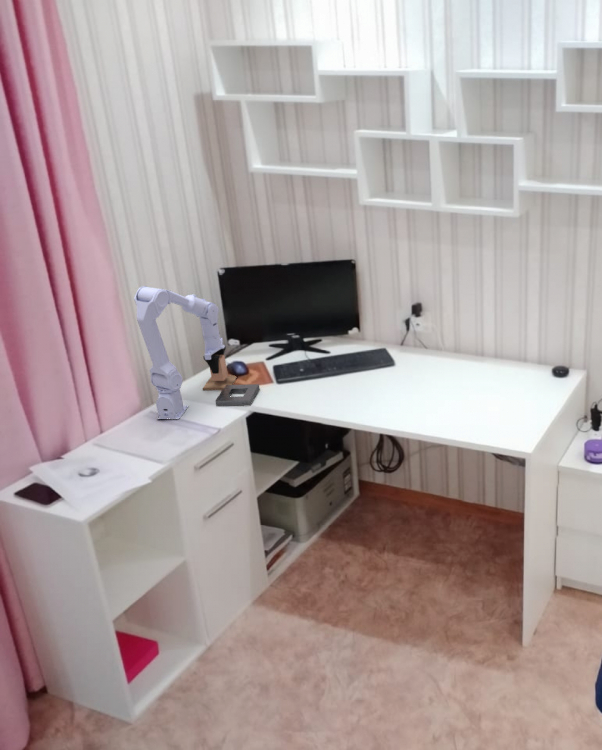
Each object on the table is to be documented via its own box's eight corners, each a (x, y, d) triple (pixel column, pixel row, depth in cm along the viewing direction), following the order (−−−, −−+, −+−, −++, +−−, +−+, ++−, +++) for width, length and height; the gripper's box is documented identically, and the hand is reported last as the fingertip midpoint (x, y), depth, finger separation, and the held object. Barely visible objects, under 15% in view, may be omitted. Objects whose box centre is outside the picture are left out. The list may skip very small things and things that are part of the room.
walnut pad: (229, 390, 305) (229, 387, 305) (202, 390, 308) (202, 388, 307) (237, 377, 314) (237, 375, 313) (211, 377, 316) (211, 375, 316)
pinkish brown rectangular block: (223, 380, 307) (220, 359, 304) (212, 380, 308) (208, 360, 305) (227, 375, 311) (224, 354, 308) (216, 375, 312) (212, 354, 309)
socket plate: (250, 405, 292) (249, 400, 291) (216, 406, 295) (215, 400, 294) (259, 389, 302) (258, 384, 301) (226, 390, 305) (226, 384, 304)
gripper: (215, 342, 295) (222, 378, 301) (228, 326, 308) (234, 360, 314) (196, 343, 297) (203, 379, 303) (209, 326, 310) (216, 361, 316)
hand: (217, 369), depth 308 cm, fingers closed on pinkish brown rectangular block, 4 cm apart
